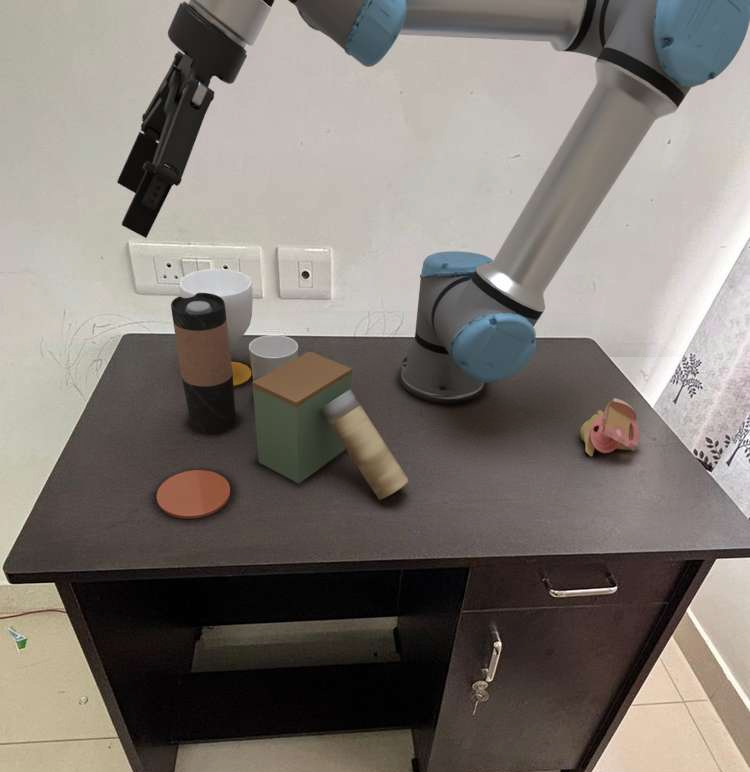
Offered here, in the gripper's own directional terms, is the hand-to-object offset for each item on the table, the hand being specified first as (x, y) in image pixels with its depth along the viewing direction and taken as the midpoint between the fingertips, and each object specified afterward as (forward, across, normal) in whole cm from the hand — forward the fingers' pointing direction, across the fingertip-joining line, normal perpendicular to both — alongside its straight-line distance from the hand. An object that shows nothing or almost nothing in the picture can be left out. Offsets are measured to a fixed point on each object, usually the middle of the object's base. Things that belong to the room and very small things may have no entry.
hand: (130, 208), depth 74 cm
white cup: (+20, -8, +34) cm, 41 cm away
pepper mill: (+14, +17, +40) cm, 46 cm away
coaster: (+28, +14, +20) cm, 37 cm away
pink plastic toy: (-8, +19, +74) cm, 77 cm away
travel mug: (+26, -4, +25) cm, 36 cm away
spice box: (+18, +8, +35) cm, 40 cm away
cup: (+24, -19, +29) cm, 42 cm away
